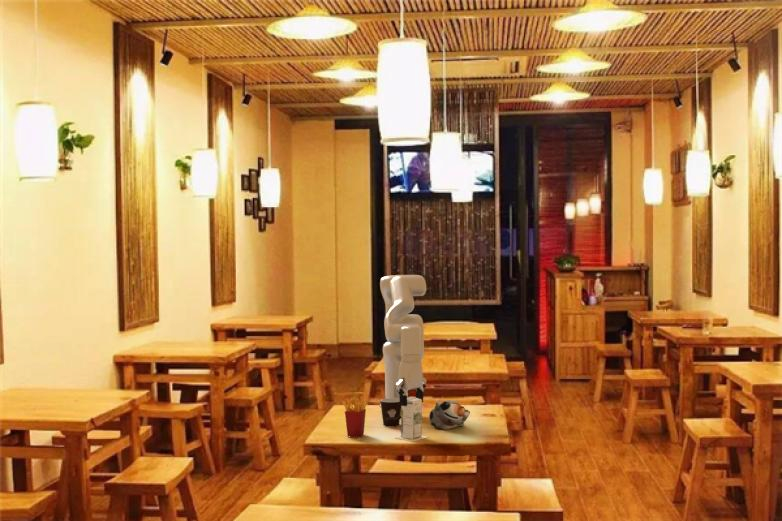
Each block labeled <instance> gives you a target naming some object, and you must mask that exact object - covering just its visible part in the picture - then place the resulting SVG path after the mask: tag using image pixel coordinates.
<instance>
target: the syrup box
mask: <svg viewBox="0 0 782 521" xmlns="http://www.w3.org/2000/svg"><path fill="white" fill-rule="evenodd" d="M422 413H423V402H422V400H421V399H418V398H416V397H408V398H407V406H401V419H400V423H401V424H400V426H401V427H400V428H401V429H400V430H401V433H400V434H401V437H402V438H409V439H415V438H418V437H421V436H423V435H422V434H423V433H422V432H423V430H422V429H423V428H422V427H423V425H422V422H423V421H422V420H423V419H422V418H423V417H422V416H423V414H422Z"/></svg>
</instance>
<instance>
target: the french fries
mask: <svg viewBox="0 0 782 521" xmlns="http://www.w3.org/2000/svg"><path fill="white" fill-rule="evenodd" d="M345 400H346V401H345ZM345 400H343V401H342V405H343V406H344V408H345V411H344V415H345V423H346V432H347V434H346V435H347V437H348V436H350V437H349V438H358V437H360V438H361V437H362V435H363V436H364V433H365V423H366V412H367V411H366V410H367V409H366V407H367V400H366V399H365V397H364V396H362V395H361V396H360V399H359V397H356V396H353V397H351V398H350V399H349V398H346V399H345ZM353 400H354V404H352V401H353ZM360 400H361V402H360ZM346 402H347V403H346Z"/></svg>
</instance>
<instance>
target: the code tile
mask: <svg viewBox="0 0 782 521" xmlns="http://www.w3.org/2000/svg"><path fill="white" fill-rule="evenodd" d="M427 438H428V436H426V435H422V436H421V437H418V438H415V439H409V438H402V437H401V436H400V435H399V436H396V437H395V439H398V440H403V441H409V442H417V441H421V440H423V439H427Z"/></svg>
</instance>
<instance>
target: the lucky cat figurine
mask: <svg viewBox="0 0 782 521" xmlns="http://www.w3.org/2000/svg"><path fill="white" fill-rule="evenodd" d="M470 414H471V410H469V409H466V408H465V406H463V405H462V404H460V403H459V402H458V401H456V400H444V401H440V400H438V401H436V403H435V406H434V408H433V409H431V411H430V412H429V415H428V416H429V417H428V418H429V423H430V425H431V426H433V427H434V428H435V429H436V430H441V429H442V430H444V431H448V430H450V429H454V428H458V427H463V426H464V425H465V422H466V421H467V419H468V418H469V416H470Z"/></svg>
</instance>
